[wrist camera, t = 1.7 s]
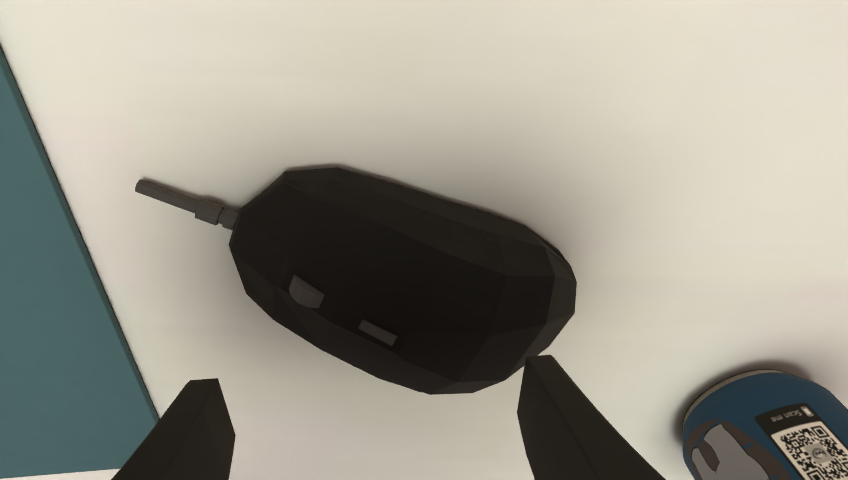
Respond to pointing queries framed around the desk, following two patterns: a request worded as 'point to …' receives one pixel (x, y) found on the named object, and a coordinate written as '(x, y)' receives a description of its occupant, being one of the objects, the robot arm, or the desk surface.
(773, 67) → the desk surface
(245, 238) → the gaming mouse
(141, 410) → the mouse pad
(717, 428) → the soda can
